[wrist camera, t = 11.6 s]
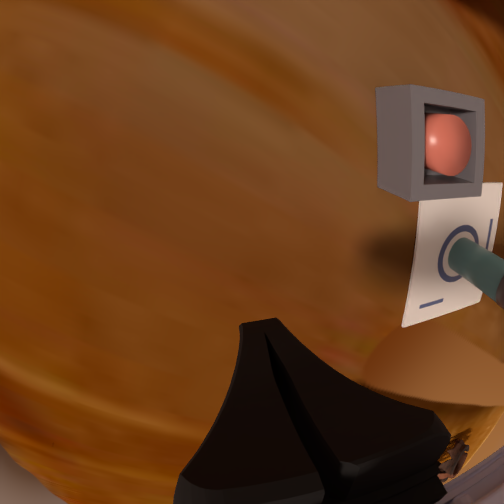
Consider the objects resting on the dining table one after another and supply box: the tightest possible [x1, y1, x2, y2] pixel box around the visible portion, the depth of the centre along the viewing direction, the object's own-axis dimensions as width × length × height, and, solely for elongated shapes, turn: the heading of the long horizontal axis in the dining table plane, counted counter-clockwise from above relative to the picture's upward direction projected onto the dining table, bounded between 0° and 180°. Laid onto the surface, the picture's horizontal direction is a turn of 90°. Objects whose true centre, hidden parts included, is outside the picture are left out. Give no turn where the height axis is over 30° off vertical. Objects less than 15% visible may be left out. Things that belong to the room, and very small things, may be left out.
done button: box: [424, 113, 472, 176], centre depth 17 cm, size 4×4×2 cm
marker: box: [448, 237, 504, 309], centre depth 20 cm, size 3×3×8 cm
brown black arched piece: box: [436, 439, 469, 482], centre depth 42 cm, size 12×10×8 cm
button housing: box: [375, 84, 485, 202], centre depth 18 cm, size 7×7×4 cm
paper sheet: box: [401, 182, 503, 327], centre depth 24 cm, size 13×11×1 cm
